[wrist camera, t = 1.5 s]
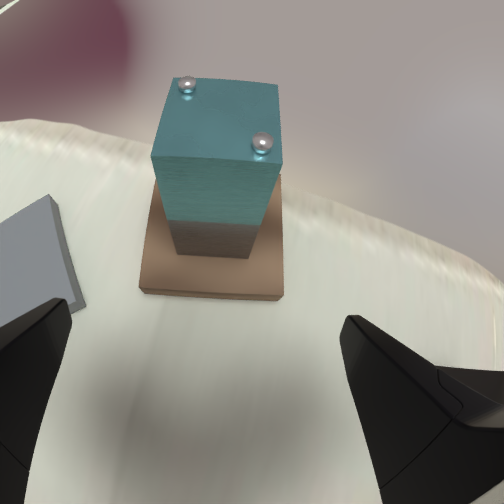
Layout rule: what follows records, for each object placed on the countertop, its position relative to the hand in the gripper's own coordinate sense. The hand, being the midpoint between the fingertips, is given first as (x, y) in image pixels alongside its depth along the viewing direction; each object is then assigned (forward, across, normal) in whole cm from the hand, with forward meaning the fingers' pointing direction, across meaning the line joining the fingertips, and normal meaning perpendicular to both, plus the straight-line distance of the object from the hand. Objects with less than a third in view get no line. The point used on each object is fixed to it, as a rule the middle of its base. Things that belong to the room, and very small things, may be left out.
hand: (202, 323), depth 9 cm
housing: (+14, 0, +2) cm, 14 cm away
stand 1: (+12, +16, +7) cm, 21 cm away
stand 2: (+15, 0, +3) cm, 15 cm away
